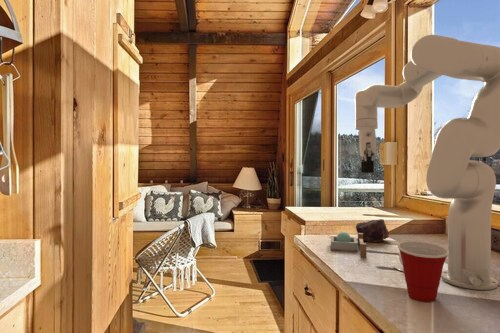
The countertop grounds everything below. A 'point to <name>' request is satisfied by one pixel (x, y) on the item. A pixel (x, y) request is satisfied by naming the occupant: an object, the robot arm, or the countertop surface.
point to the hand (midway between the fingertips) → (367, 172)
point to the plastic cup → (422, 268)
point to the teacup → (399, 264)
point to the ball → (343, 237)
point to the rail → (361, 245)
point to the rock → (373, 230)
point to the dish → (344, 245)
